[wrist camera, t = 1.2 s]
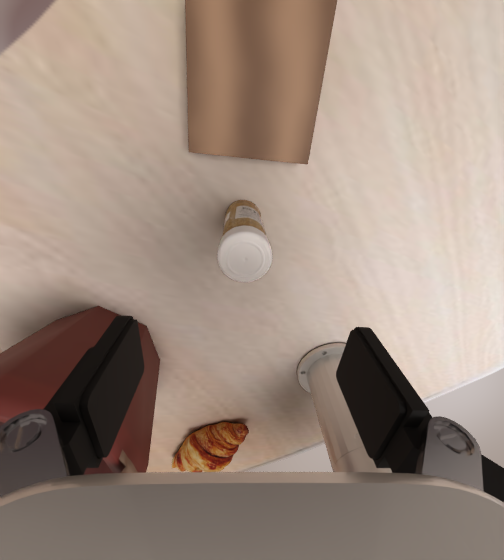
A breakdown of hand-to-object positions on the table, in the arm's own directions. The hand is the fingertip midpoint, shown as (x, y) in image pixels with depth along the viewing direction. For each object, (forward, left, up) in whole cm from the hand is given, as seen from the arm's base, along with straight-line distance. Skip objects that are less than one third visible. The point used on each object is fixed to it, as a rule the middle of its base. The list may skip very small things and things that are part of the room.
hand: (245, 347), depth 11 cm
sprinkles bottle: (0, 0, -24) cm, 24 cm away
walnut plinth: (0, -13, -24) cm, 27 cm away
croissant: (+4, +48, -24) cm, 54 cm away
